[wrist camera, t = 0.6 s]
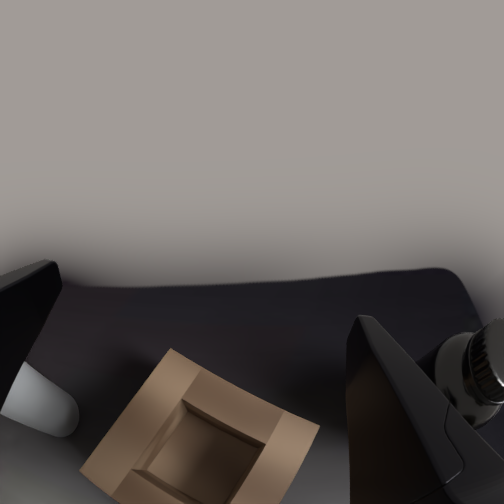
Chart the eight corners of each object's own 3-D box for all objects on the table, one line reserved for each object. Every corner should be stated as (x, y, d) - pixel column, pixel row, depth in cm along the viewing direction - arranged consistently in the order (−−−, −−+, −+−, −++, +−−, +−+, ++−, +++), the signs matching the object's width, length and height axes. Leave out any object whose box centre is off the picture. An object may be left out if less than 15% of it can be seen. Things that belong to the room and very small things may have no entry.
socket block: (233, 545, 12) (237, 565, 8) (107, 472, 15) (79, 470, 11) (299, 436, 18) (320, 425, 15) (179, 373, 21) (170, 348, 17)
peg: (62, 447, 15) (-62, 394, 5) (30, 413, 16) (-83, 338, 6) (88, 411, 17) (-19, 334, 8) (55, 380, 18) (-44, 286, 9)
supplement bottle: (356, 428, 19) (459, 374, 10) (392, 363, 23) (478, 281, 14) (417, 463, 16) (533, 426, 8) (445, 398, 20) (542, 334, 11)
